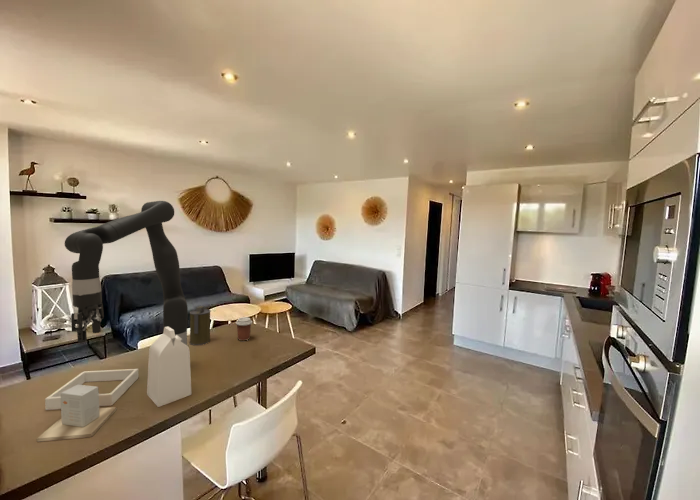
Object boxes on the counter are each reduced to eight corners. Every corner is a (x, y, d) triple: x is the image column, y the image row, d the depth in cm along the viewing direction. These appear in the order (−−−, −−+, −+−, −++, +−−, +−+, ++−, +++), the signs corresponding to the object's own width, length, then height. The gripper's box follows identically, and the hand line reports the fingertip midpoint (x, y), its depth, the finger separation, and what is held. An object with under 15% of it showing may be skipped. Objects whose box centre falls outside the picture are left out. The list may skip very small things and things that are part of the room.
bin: (138, 377, 128) (138, 368, 127) (111, 405, 108) (111, 394, 108) (83, 380, 124) (83, 371, 123) (45, 410, 104) (45, 398, 104)
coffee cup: (242, 343, 169) (242, 322, 168) (231, 339, 174) (232, 319, 173) (255, 338, 177) (255, 318, 176) (245, 335, 182) (245, 315, 181)
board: (116, 409, 106) (116, 406, 106) (91, 436, 92) (91, 433, 92) (69, 413, 103) (69, 410, 103) (36, 441, 89) (36, 438, 89)
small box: (100, 417, 100) (99, 386, 99) (82, 428, 95) (82, 395, 94) (79, 414, 101) (78, 383, 100) (60, 424, 96) (59, 392, 95)
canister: (194, 338, 174) (194, 304, 172) (213, 338, 175) (213, 304, 173) (185, 345, 163) (186, 309, 161) (206, 345, 164) (206, 309, 162)
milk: (146, 394, 116) (146, 328, 114) (179, 383, 125) (179, 321, 123) (158, 407, 108) (157, 336, 107) (191, 394, 117) (191, 329, 115)
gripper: (86, 287, 109) (88, 330, 111) (59, 296, 96) (63, 346, 97) (110, 286, 111) (112, 329, 113) (87, 295, 98) (90, 344, 99)
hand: (89, 337), depth 105 cm, fingers open, 8 cm apart
